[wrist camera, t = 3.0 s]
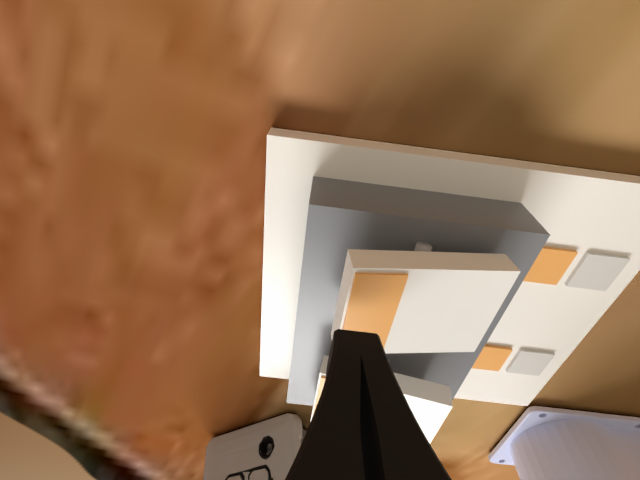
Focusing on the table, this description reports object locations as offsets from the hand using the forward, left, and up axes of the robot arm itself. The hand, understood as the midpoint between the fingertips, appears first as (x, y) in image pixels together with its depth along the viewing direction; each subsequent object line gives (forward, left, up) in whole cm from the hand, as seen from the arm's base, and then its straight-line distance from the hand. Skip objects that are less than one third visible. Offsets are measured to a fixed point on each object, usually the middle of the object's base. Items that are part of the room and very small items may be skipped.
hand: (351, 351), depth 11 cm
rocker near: (-3, 0, -3) cm, 4 cm away
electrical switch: (+3, +22, -8) cm, 23 cm away
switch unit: (-5, +4, -7) cm, 10 cm away
